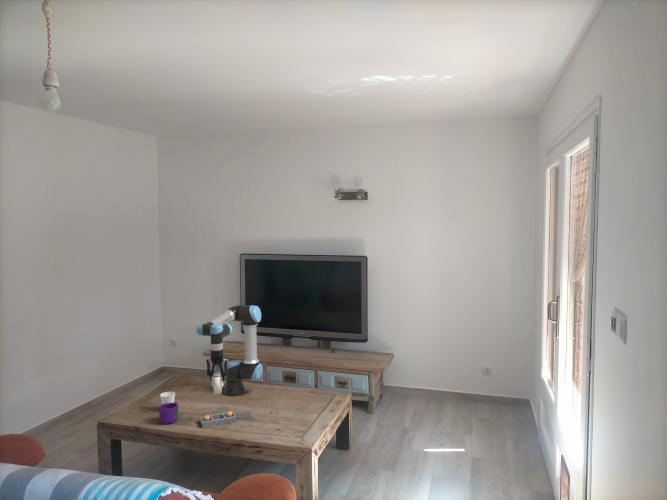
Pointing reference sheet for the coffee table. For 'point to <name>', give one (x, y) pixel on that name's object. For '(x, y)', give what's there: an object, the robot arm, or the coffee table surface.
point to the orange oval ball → (229, 414)
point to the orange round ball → (206, 417)
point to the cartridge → (217, 382)
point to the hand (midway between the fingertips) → (217, 386)
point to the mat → (243, 415)
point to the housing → (218, 419)
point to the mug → (168, 413)
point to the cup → (167, 397)
